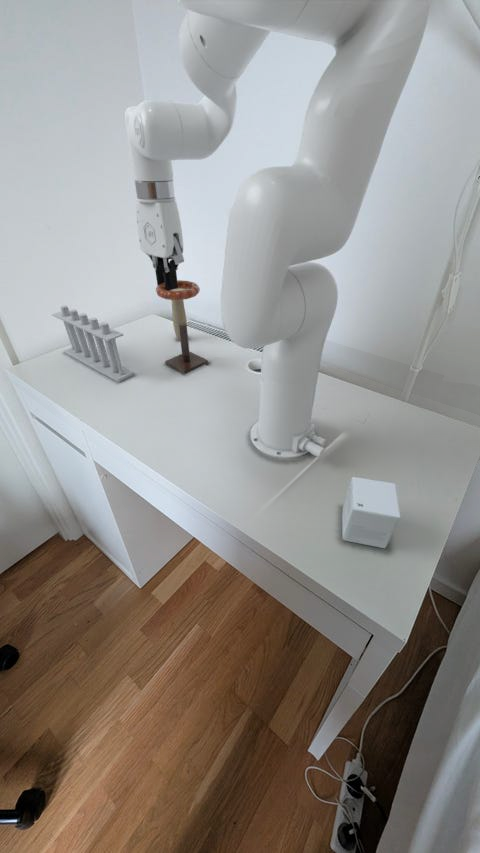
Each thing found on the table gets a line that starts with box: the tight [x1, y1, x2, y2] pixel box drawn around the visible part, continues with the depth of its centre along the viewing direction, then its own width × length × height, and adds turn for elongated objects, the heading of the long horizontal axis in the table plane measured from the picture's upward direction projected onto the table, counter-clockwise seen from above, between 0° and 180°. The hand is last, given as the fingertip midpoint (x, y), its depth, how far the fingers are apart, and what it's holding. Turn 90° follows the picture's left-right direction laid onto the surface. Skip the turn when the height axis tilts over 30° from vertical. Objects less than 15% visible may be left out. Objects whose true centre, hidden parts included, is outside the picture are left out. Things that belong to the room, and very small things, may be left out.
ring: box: [155, 279, 201, 301], centre depth 76 cm, size 10×10×2 cm
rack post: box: [164, 322, 209, 375], centre depth 86 cm, size 8×8×11 cm
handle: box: [169, 289, 188, 342], centre depth 97 cm, size 5×6×15 cm
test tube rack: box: [51, 305, 134, 383], centre depth 85 cm, size 25×4×13 cm, turn 51°
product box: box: [341, 476, 401, 549], centre depth 48 cm, size 6×6×7 cm
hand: (167, 287), depth 78 cm, fingers closed on ring, 2 cm apart
